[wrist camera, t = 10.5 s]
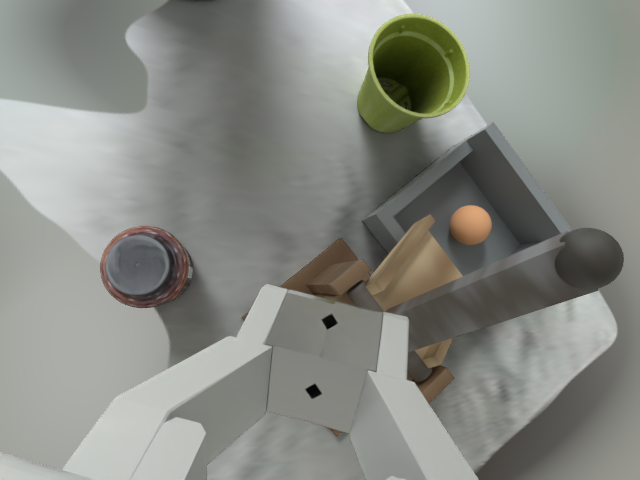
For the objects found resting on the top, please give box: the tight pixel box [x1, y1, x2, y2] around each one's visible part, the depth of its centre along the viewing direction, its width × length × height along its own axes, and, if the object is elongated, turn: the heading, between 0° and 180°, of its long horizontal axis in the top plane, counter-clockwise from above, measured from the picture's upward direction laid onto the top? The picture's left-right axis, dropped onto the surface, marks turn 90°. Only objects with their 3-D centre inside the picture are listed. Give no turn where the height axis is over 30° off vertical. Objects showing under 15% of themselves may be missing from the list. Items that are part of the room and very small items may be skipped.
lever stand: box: [242, 238, 454, 436], centre depth 37 cm, size 14×12×11 cm
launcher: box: [347, 214, 624, 382], centre depth 31 cm, size 9×14×17 cm
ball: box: [449, 205, 492, 245], centre depth 43 cm, size 4×4×4 cm
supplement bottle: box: [100, 226, 193, 308], centre depth 33 cm, size 6×6×11 cm
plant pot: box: [358, 14, 470, 133], centre depth 41 cm, size 9×9×9 cm
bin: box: [362, 123, 573, 276], centre depth 42 cm, size 14×14×7 cm
